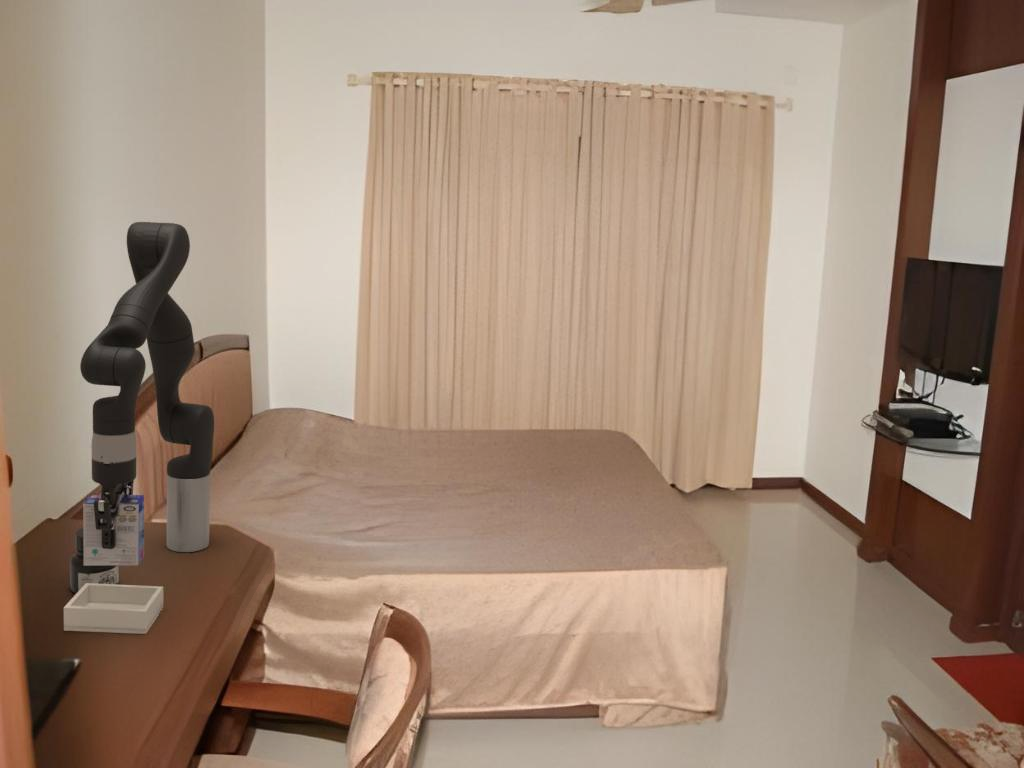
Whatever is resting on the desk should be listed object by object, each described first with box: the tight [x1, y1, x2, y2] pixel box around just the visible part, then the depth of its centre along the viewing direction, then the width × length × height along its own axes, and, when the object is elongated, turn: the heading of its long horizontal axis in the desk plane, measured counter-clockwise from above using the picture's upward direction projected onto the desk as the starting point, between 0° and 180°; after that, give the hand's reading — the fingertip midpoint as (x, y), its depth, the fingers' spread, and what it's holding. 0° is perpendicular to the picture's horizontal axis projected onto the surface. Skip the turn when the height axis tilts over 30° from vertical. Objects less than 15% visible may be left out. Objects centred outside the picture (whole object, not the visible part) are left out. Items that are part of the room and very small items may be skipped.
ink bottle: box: [69, 527, 120, 594], centre depth 184 cm, size 10×9×12 cm
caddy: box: [63, 583, 164, 635], centre depth 173 cm, size 11×15×4 cm
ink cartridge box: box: [82, 484, 145, 566], centre depth 170 cm, size 10×6×14 cm, turn 102°
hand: (114, 541), depth 170 cm, fingers closed on ink cartridge box, 5 cm apart
